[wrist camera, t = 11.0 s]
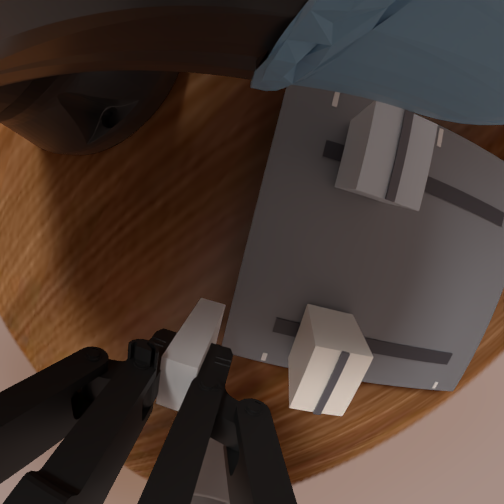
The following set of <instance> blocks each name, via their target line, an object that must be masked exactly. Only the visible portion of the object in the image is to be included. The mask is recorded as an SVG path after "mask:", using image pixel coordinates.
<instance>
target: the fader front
mask: <svg viewBox="0 0 504 504" xmlns="http://www.w3.org/2000/svg"><path fill="white" fill-rule="evenodd" d="M437 126H438V125H437V124H435V123H433V122H431V121H429V120H427V119H425V118H422V117H420V116H418V115H416V114H414V112H411V111H408V110H404V109H402V108H398V107H395V106H392V105H389V104H385V103H382V102H378V101H374V102H372V103H371V104H370V105H369V106H367V107H366V108H365V109H364V110H363V111H361V112H360V113H359V114H358V115H357V116H355V117H354V118H353V119H352V120H351V121H350V125H349V130H348V134H347V138H346V143H345V147H344V151H343V155H342V159H341V163H340V167H339V171H338V175H337V179H336V183H335V186H334V187H336V188H340V189H343V190H346V191H349V192H353V193H356V194H359V195H362V196H365V197H368V198H371V199H374V200H377V201H380V202H384V203H388V204H392V205H396V206H400V207H404V208H408V209H412V210H416V211H419V209H420V206H421V202H422V198H423V194H424V190H425V186H426V182H427V177H428V173H429V168H430V164H431V159H432V154H433V149H434V144H435V138H436V132H437Z"/></svg>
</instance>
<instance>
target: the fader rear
mask: <svg viewBox="0 0 504 504" xmlns="http://www.w3.org/2000/svg"><path fill="white" fill-rule="evenodd" d="M372 359H373V355H372V353H371V351H370V348H369V346H368V344H367V342H366V340H365V338H364V336H363V334H362V332H361V330H360V328H359V326H358V324H357V322H356V320H355V318H354V316H353V314H349V313H344V312H340V311H336V310H332V309H327V308H323V307H319V306H315V305H311V304H307V306H306V309H305V312H304V315H303V318H302V321H301V324H300V327H299V329H298V332H297V335H296V338H295V341H294V343H293V346H292V349H291V352H290V354H289V357H288V366H289V408H292V409H298V410H304V411H310V412H313V414H317V415H320V414H321V413H322V414H329V415H337V416H343V414H344V412H345V411H346V409H347V407H348V405H349V404H350V402H351V400H352V398H353V396H354V395H355V393H356V391H357V389H358V387H359V385H360V383H361V381H362V379H363V377H364V376H365V374H366V372H367V370H368V368H369V366H370V364H371V362H372Z"/></svg>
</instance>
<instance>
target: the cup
mask: <svg viewBox="0 0 504 504" xmlns="http://www.w3.org/2000/svg"><path fill="white" fill-rule="evenodd" d="M223 446H224V445H223V444H221V443H219V442H218V441H216V440H214V439H212V438H210V439H209V443H208V446H207V450H206V453H205V456H204V460H203V463H202V467H201V470H200V474H199V477H198V480H197V484H196V487H195V491H194V494H193V497H192V501H191V504H230V500H229V493H228V485H227V476H226V468H225V459H224V450H223Z"/></svg>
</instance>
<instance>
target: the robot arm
mask: <svg viewBox="0 0 504 504" xmlns="http://www.w3.org/2000/svg"><path fill="white" fill-rule="evenodd" d="M179 72H190V73H202V74H212V75H221V76H229V77H236V78H243V79H250V80H251V83H250V88H255V89H259V90H264V91H277V90H280V89H283V88H285V87H288V86H290V85H298V86H305V87H311V88H317V89H323V90H329V91H334V92H339V93H344V94H349V95H354V96H359V97H363V98H367V99H371V100H375V101H378V102H382V103H385V104H389V105H392V106H395V107H398V108H402V109H405V110H408V111H411V112H414V113H417V114H420V115H424V116H428V117H431V118H435V119H439V120H444V121H450V122H455V123H461V124H474V125H504V0H0V123H2V124H4V125H5V126H7V127H8V128H10V129H11V130H13V131H14V132H16V133H18V134H19V135H21V136H22V137H24V138H25V139H27V140H29V141H30V142H32V143H33V144H35V145H36V146H38V147H40V148H42V149H44V150H46V151H49V152H53V153H57V154H70V155H87V154H93V153H97V152H100V151H103V150H106V149H108V148H110V147H112V146H114V145H116V144H118V143H120V142H121V141H123V140H125V139H126V138H127V137H129V136H130V135H132V134H133V133H134V132H135V131H137V130H138V129H139V128H140V127H141V126H142V125H143V124H144V123H145V122H146V121H147V120H148V119H149V118H150V117H151V116H152V115H153V114H154V113H155V111H156V110H157V109H158V108H159V106H160V105H161V104H162V102H163V101H164V99H165V98H166V96H167V95H168V93H169V91H170V89H171V88H172V86H173V84H174V82H175V80H176V77H177V75H178V73H179ZM225 306H226V305H225V304H222V303H218V302H215V301H211V300H208V299H204V298H200V300H199V301H198V303H197V304H196V306H195V307H194V309H193V310H192V312H191V313H190V315H189V316H188V318H187V319H186V321H185V322H184V324H183V325H182V327H181V328H180V330H179V331H178V333H176V332H173V331H170V330H167V329H164V328H163V329H161V330H159V331H157V332H156V333H155V334H154V335H153V336H152V338H151V339H150V340H144V339H136V340H132V341H131V342H129V345H128V359H127V360H126V361H116V360H110V359H108V358H109V357H108V354H107V353H106V352H105V351H104V350H103V349H101V348H98V347H86V348H83V349H81V350H79V351H77V352H75V353H73V354H72V355H70V356H68V357H66V358H64V359H62V360H60V361H58V362H57V363H55V364H53V365H51V366H49V367H47V368H45V369H43V370H41V371H40V372H38V373H36V374H34V375H32V376H30V377H28V378H27V379H24V380H23V381H21V382H19V383H17V384H15V385H13V386H11V387H9V388H8V389H5V390H4V391H2V392H0V483H2V482H3V481H5V480H6V479H8V478H9V477H11V476H12V475H14V474H15V473H16V472H18V471H19V470H21V469H22V468H24V467H25V466H26V465H28V464H29V463H30V462H32V461H33V460H35V459H36V458H37V457H39V456H40V455H42V454H43V453H44V452H46V451H47V450H49V449H50V448H51V447H52V446H54V445H55V444H57V443H58V442H59V441H61V440H62V439H63V438H64V440H63V441H62V442H61V443H60V445H59V446H58V447H57V449H56V450H55V451H54V453H53V454H52V455H51V456H50V458H49V459H48V460H47V462H46V463H45V465H44V466H43V467H42V468H41V469H40V470H39V471H30V472H27V473H26V474H25V476H23V477H22V479H21V480H20V481H19V483H18V484H17V485H16V487H15V488H14V489H13V491H12V492H11V493H10V495H9V496H8V497H7V498H6V500H5V501H4V503H3V504H103V503H104V501H105V499H106V497H107V495H108V493H109V491H110V489H111V487H112V485H113V483H114V482H115V480H116V478H117V476H118V474H119V472H120V470H121V468H122V466H123V465H124V463H125V461H126V459H127V457H128V455H129V453H130V451H131V449H132V448H133V446H134V444H135V442H136V440H137V438H138V436H139V434H140V433H141V431H142V429H143V427H144V425H145V423H146V421H147V420H148V418H149V416H150V414H151V412H152V409H153V402H154V400H155V399H156V397H157V399H156V404H159V405H161V406H164V407H167V408H170V409H173V410H176V411H178V413H177V416H176V418H175V420H174V422H173V425H172V427H171V429H170V431H169V434H168V436H167V438H166V440H165V443H164V445H163V447H162V449H161V452H160V454H159V456H158V458H157V461H156V463H155V465H154V467H153V470H152V472H151V474H150V476H149V479H148V481H147V483H146V486H145V488H144V490H143V492H142V495H141V497H140V499H139V501H138V504H191V501H192V497H193V494H194V491H195V487H196V484H197V480H198V477H199V474H200V470H201V467H202V463H203V460H204V456H205V453H206V450H207V446H208V443H209V439H210V438H212V439H214V440H216V441H218V442H219V443H221V444H223V445H224V446H223V450H224V459H225V468H226V476H227V485H228V493H229V500H230V504H297V502H296V499H295V495H294V493H293V489H292V485H291V482H290V479H289V475H288V472H287V468H286V465H285V462H284V458H283V455H282V451H281V448H280V444H279V441H278V437H277V434H276V430H275V427H274V423H273V420H272V416H271V413H270V410H269V408H268V406H267V405H265V404H264V403H263V402H261V401H259V400H256V399H243V400H241V401H240V402H239V401H238V400H236V399H234V398H232V397H231V396H230V395H229V394H228V393H227V392H226V390H225V383H226V379H227V376H228V372H229V368H230V365H231V361H232V357H233V353H232V351H231V348H228V347H224V346H221V345H217V344H216V342H217V338H218V334H219V330H220V326H221V322H222V318H223V314H224V310H225Z"/></svg>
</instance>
